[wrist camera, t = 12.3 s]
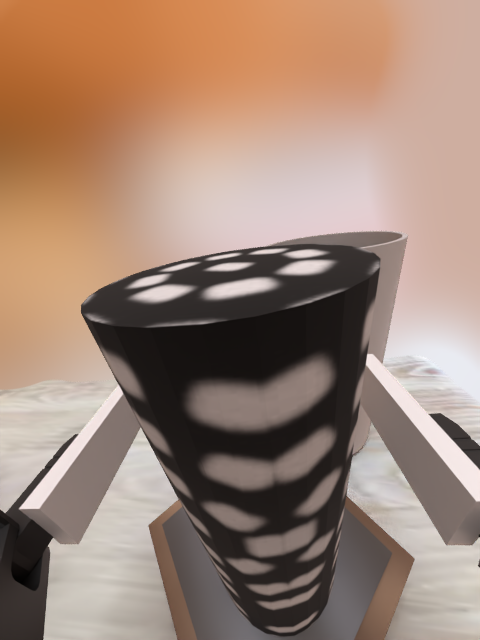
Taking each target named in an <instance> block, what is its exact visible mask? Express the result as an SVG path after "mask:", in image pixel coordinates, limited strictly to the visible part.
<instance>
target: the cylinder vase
mask: <svg viewBox="0 0 480 640" xmlns="http://www.w3.org/2000/svg"><path fill="white" fill-rule="evenodd" d="M407 237H408V235H407V234H405V233H402V232H393V231H366V232H348V233H336V234H327V235H318V236H311V237H304V238H297V239H292V240H287V241H282V242H278V243H274V244H271V245H268V246H278V245H293V244H335V245H346V246H353V247H358V248H363V249H366V250H368V251H371V252H374V253H375V254H376V255H377V256H378V257H379V258H381V261H380V273H379V279H378V286H377V293H376V299H375V306H374V313H373V320H372V326H371V333H370V340H369V346H368V353H367V354H373V355H374V356H375V357H376V358H377V359H378V360H379V361H380V362H381V363H383V358H384V353H385V348H386V343H387V338H388V333H389V328H390V323H391V318H392V313H393V308H394V303H395V298H396V293H397V287H398V283H399V277H400V273H401V268H402V263H403V257H404V252H405V247H406V242H407ZM265 247H266V246H265ZM370 424H371V420H370V418H369V417H368V415H367V413H366V412H365V410H364V408H363V407H362V405H361V403H360V407H359V413H358V420H357V427H356V434H355V440H354V447H353V454H354V453H356V452H357V451H359V450H360V449H361V448H362V447H363V445H364V444H365V442H366V440H367V438H368V434H369V429H370ZM353 454H352V455H353Z"/></svg>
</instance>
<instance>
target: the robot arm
mask: <svg viewBox="0 0 480 640" xmlns="http://www.w3.org/2000/svg"><path fill="white" fill-rule="evenodd" d="M360 403H361V405H362V407H363V408H364V410H365V412H366V413H367V415H368V417H369V418H370V420H371V422H372V423H373V425H374V427H375V428H376V430H377V431H378V433H379V435H380V436H381V438H382V440H383V441H384V443H385V445H386V446H387V448H388V450H389V451H390V453H391V455H392V456H393V458H394V460H395V461H396V463H397V464H398V466H399V468H400V469H401V471H402V473H403V474H404V476H405V478H406V479H407V481H408V483H409V484H410V486H411V488H412V489H413V491H414V493H415V494H416V496H417V497H418V499H419V501H420V502H421V504H422V506H423V507H424V509H425V511H426V512H427V514H428V516H429V517H430V519H431V521H432V522H433V524H434V526H435V527H436V529H437V530H438V532H439V534H440V535H441V537H442V539H443V540H444V542H445V544H446V545H473V544H474V542H475V541H476V540H477V539H478V538H479V537H480V446H479V445H478V444H477V443H476V442H475V441H474V440H471V437H470V436H469V435H468V434H467V433H466V432H465V431H464V430H463V429H462V428H461V427H460V426H459V425H458V424H456V423H455V422H453V421H452V420H450V419H449V418H447V417H445V416H444V415H442V414H441V413H437V414H428V413H427V412H426V411H425V410H424V409H423V408H422V407H421V406H420V405H419V403H418V402H417V401H416V400H415V399H414V398H413V397H412V396H411V395H410V394H409V393H408V392H407V390H406V389H405V388H404V387H403V386H402V385H401V384H400V383H399V382H398V381H397V380H396V379H395V377H394V376H393V375H392V374H391V373H390V372H389V371H388V370H387V369H386V368H385V367H384V366H383V364H382V363H381V362H380V361H379V360H378V359H377V358H376V357H375V356H374V355H373V354H367V360H366V367H365V373H364V380H363V387H362V393H361V400H360ZM140 427H141V426H140V424H139V422H138V420H137V419H136V417H135V415H134V413H133V411H132V409H131V407H130V405H129V403H128V401H127V400H126V398H125V396H124V394H123V392H122V390H121V388H120V386H119V385H118V386H117V387H116V388H115V390H114V391H113V392H112V393H111V395H110V396H109V397H108V398H107V400H106V401H105V402H104V403H103V405H102V406H101V407H100V408H99V410H98V411H97V412H96V413H95V415H94V416H93V417H92V418H91V420H90V421H89V422H88V423H87V425H86V426H85V427H84V428H83V430H82V431H81V432H80V433H79V434H75V435H74V436H73V437H72V438H70V439H69V440H68V441H67V442H66V443H65V444H63V445H62V447H61V448H60V449H59V450H58V451H57V453H56V454H55V455H54V456H53V459H51V460H50V461H49V462H48V463H47V465H46V466H45V468H44V469H42V471H41V472H40V473H39V474H38V475H37V477H36V478H35V479H34V480H33V481H32V483H31V484H30V485H29V486H28V487H27V489H26V490H25V491H24V492H23V493H22V495H21V496H20V497H19V498H18V499H17V501H16V502H15V503H14V504H13V505H12V507H11V508H10V509H9V510H8V511H7V512H6V513H4V512H3V511H1V510H0V640H43V635H44V623H45V611H46V598H47V586H48V573H49V561H50V550H49V547H48V545H49V543H50V541H51V540H52V538H54V539H55V540H57V541H58V542H59V543H60V544H79V543H80V541H81V539H82V537H83V535H84V533H85V531H86V529H87V528H88V526H89V524H90V522H91V520H92V518H93V516H94V514H95V512H96V511H97V509H98V507H99V505H100V503H101V501H102V499H103V497H104V495H105V494H106V492H107V490H108V488H109V486H110V484H111V482H112V480H113V478H114V477H115V475H116V473H117V471H118V469H119V467H120V465H121V463H122V461H123V460H124V458H125V456H126V454H127V452H128V450H129V448H130V446H131V444H132V442H133V441H134V439H135V437H136V435H137V433H138V431H139V429H140ZM478 566H479V567H480V561H479V565H478Z"/></svg>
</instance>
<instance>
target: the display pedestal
mask: <svg viewBox="0 0 480 640" xmlns="http://www.w3.org/2000/svg"><path fill="white" fill-rule="evenodd" d="M148 526H149V530H150V534H151V537H152V541H153V545H154V549H155V553H156V557H157V561H158V565H159V569H160V572H161V576H162V580H163V584H164V588H165V592H166V596H167V600H168V604H169V607H170V611H171V615H172V619H173V623H174V627H175V631H176V635H177V639H178V640H384V638H385V636H386V633H387V631H388V628H389V625H390V623H391V620H392V617H393V615H394V612H395V609H396V607H397V604H398V602H399V599H400V596H401V594H402V591H403V588H404V586H405V583H406V581H407V578H408V575H409V573H410V570H411V567H412V565H413V562H414V560H415V559H414V558H413V557H412V556H411V555H410V554H409V553H408V552H407V551H406V550H404V549H403V548H402V547H401V546H400V545H399V544H398V543H397V542H396V541H395V540H394V539H392V538H391V537H390V536H389V535H388V534H387V533H386V532H385V531H384V530H383V529H382V528H381V527H379V526H378V525H377V524H376V523H375V522H374V521H373V520H372V519H371V518H370V517H369V516H368V515H366V514H365V513H364V512H363V511H362V510H361V509H360V508H359V507H358V506H357V505H356V504H355V503H353V502H352V501H351V500H350V499H349V498H348V497H347V496H346V501H345V507H344V514H343V521H342V527H341V534H340V541H339V548H338V554H337V561H336V568H335V574H334V581H333V587H332V590H331V594H330V597H329V600H328V603H327V605H326V607H325V608H324V610H323V612H322V614H321V615H320V617H319V618H318V619H317V620H316V621H315V622H314V623H313V624H312V625H311V626H310V627H309V628H308V629H307V630H305V631H303V632H301V633H299V634H297V635H295V636H286V637H278V636H274V635H269V634H266V633H264V632H262V631H261V630H259V629H257V628H256V627H254V626H252V625H251V624H250V623H249V621H248V620H247V619H246V618H245V617H244V616H243V615H242V614H241V613H240V612H239V610H238V609H237V607H236V606H235V604H234V602H233V601H232V599H231V598H230V596H229V594H228V592H227V590H226V588H225V586H224V584H223V582H222V580H221V578H220V577H219V575H218V573H217V571H216V569H215V567H214V565H213V563H212V561H211V559H210V558H209V556H208V554H207V552H206V550H205V548H204V546H203V544H202V542H201V540H200V538H199V537H198V535H197V533H196V531H195V529H194V527H193V525H192V523H191V521H190V519H189V518H188V516H187V514H186V512H185V510H184V508H183V506H182V504H181V502H180V500H178V501H176V502H175V503H174V504H173V505H172V506H171V507H169V508H168V509H167V510H166V511H165V512H164V513H162V514H161V515H160V516H159V517H158V518H157V519H155V520H154V521H153V522H152V523H151V524H149V525H148Z"/></svg>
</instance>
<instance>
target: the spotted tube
mask: <svg viewBox="0 0 480 640" xmlns="http://www.w3.org/2000/svg"><path fill="white" fill-rule="evenodd" d="M380 261H381V258H379V257H378V256H377V255H376V254H375V253H374V252H371V251H368V250H366V249H363V248H358V247H353V246H346V245H335V244H293V245H278V246H266V247H258V248H249V249H242V250H234V251H228V252H222V253H216V254H211V255H205V256H201V257H196V258H191V259H187V260H182V261H178V262H174V263H170V264H166V265H163V266H159V267H155V268H152V269H149V270H146V271H142V272H139V273H136V274H134V275H131V276H128V277H125V278H123V279H120V280H118V281H116V282H113V283H111V284H109V285H107V286H105V287H103V288H101V289H99V290H98V291H96V292H95V293H93V294H92V295H90V296H89V297H88V298H87V299H86V300H85V301H84V302H83V304H82V305H81V314H82V316H83V318H84V319H85V321H86V323H87V325H88V327H89V329H90V331H91V333H92V335H93V336H94V339H95V340H96V342H97V344H98V346H99V348H100V350H101V352H102V354H103V356H104V358H105V360H106V361H107V363H108V365H109V367H110V369H111V371H112V373H113V375H114V377H115V379H116V381H117V382H118V384H119V386H120V388H121V390H122V392H123V394H124V396H125V398H126V400H127V401H128V403H129V405H130V407H131V409H132V411H133V413H134V415H135V417H136V419H137V420H138V422H139V424H140V426H141V428H142V430H143V432H144V434H145V436H146V438H147V440H148V441H149V443H150V445H151V447H152V449H153V451H154V453H155V455H156V457H157V459H158V460H159V462H160V464H161V466H162V468H163V470H164V472H165V474H166V476H167V478H168V479H169V481H170V483H171V485H172V487H173V489H174V491H175V493H176V495H177V497H178V499H179V500H180V502H181V504H182V506H183V508H184V510H185V512H186V514H187V516H188V518H189V519H190V521H191V523H192V525H193V527H194V529H195V531H196V533H197V535H198V537H199V538H200V540H201V542H202V544H203V546H204V548H205V550H206V552H207V554H208V556H209V558H210V559H211V561H212V563H213V565H214V567H215V569H216V571H217V573H218V575H219V577H220V578H221V580H222V582H223V584H224V586H225V588H226V590H227V592H228V594H229V596H230V598H231V599H232V601H233V602H234V604H235V606H236V607H237V609H238V610H239V612H240V613H241V614H242V615H243V616H244V617H245V618H246V619H247V620H248V621H249V623H250V624H251V625H252V626H254V627H256V628H257V629H259V630H261V631H262V632H264V633H266V634H269V635H274V636H278V637H286V636H295V635H297V634H299V633H301V632H303V631H305V630H307V629H308V628H309V627H310V626H311V625H312V624H313V623H314V622H315V621H316V620H317V619H318V618H319V617H320V615H321V614H322V612H323V610H324V608H325V607H326V605H327V603H328V600H329V597H330V594H331V590H332V587H333V581H334V574H335V568H336V561H337V554H338V548H339V541H340V534H341V527H342V521H343V514H344V507H345V501H346V494H347V487H348V480H349V474H350V467H351V460H352V454H353V447H354V440H355V434H356V427H357V420H358V413H359V407H360V400H361V393H362V387H363V380H364V373H365V367H366V360H367V353H368V346H369V340H370V333H371V326H372V320H373V313H374V306H375V299H376V293H377V286H378V279H379V273H380Z"/></svg>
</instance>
